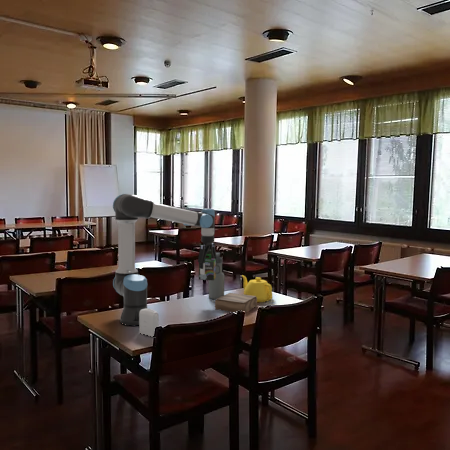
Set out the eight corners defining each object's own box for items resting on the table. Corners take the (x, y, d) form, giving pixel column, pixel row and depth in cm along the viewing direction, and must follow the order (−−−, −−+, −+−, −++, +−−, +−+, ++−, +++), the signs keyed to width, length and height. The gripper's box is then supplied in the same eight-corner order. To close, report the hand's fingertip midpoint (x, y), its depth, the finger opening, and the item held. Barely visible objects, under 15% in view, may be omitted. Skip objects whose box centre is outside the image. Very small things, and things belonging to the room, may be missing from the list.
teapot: (232, 297, 287) (232, 276, 286) (250, 293, 300) (251, 272, 298) (262, 305, 270) (263, 282, 268) (281, 300, 282) (281, 278, 281)
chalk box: (215, 277, 272) (216, 252, 271) (214, 280, 263) (214, 255, 262) (200, 276, 273) (200, 252, 272) (198, 279, 264) (198, 254, 263)
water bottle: (222, 300, 280) (222, 254, 278) (206, 299, 282) (207, 254, 280) (225, 296, 290) (226, 252, 288) (210, 295, 292) (211, 251, 290)
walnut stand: (244, 313, 251) (244, 303, 251) (215, 309, 259) (215, 298, 259) (256, 306, 267) (257, 296, 267) (229, 302, 275) (229, 292, 275)
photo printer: (137, 333, 215) (137, 308, 214) (144, 331, 219) (144, 306, 218) (153, 338, 209) (153, 311, 208) (160, 336, 213) (160, 309, 212)
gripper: (203, 237, 254) (202, 276, 256) (222, 233, 275) (222, 270, 277) (191, 236, 257) (191, 275, 259) (211, 233, 278) (211, 269, 280)
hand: (207, 272), depth 268 cm, fingers closed on chalk box, 11 cm apart
